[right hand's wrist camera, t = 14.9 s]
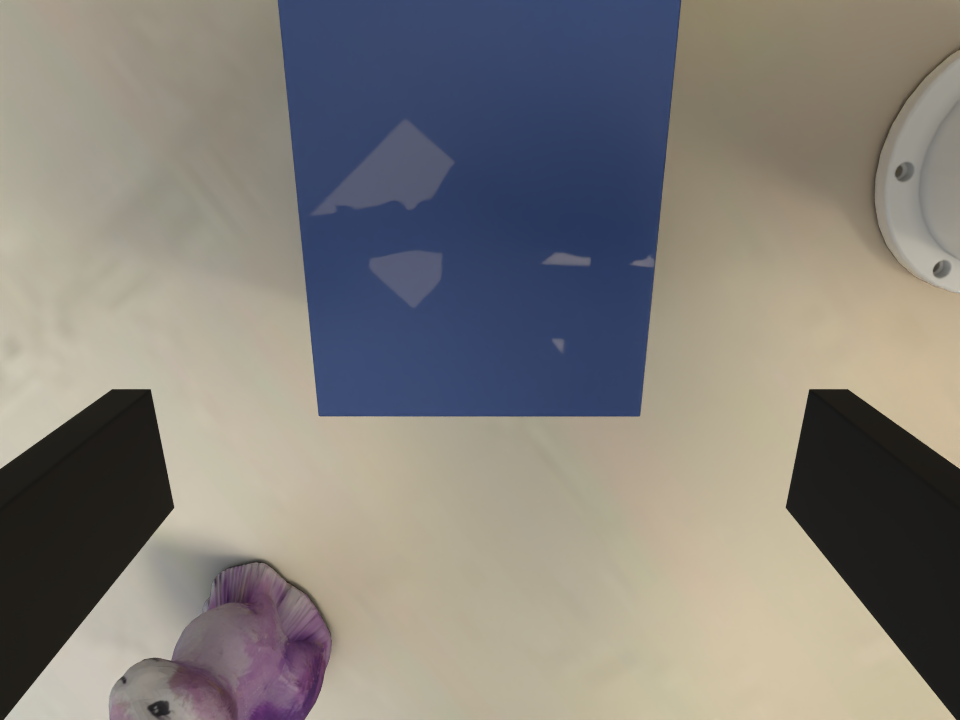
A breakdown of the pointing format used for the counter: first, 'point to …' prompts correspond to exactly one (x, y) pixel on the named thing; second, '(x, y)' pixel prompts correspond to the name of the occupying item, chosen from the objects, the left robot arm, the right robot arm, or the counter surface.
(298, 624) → the figurine
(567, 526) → the counter surface
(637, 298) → the cabinet
